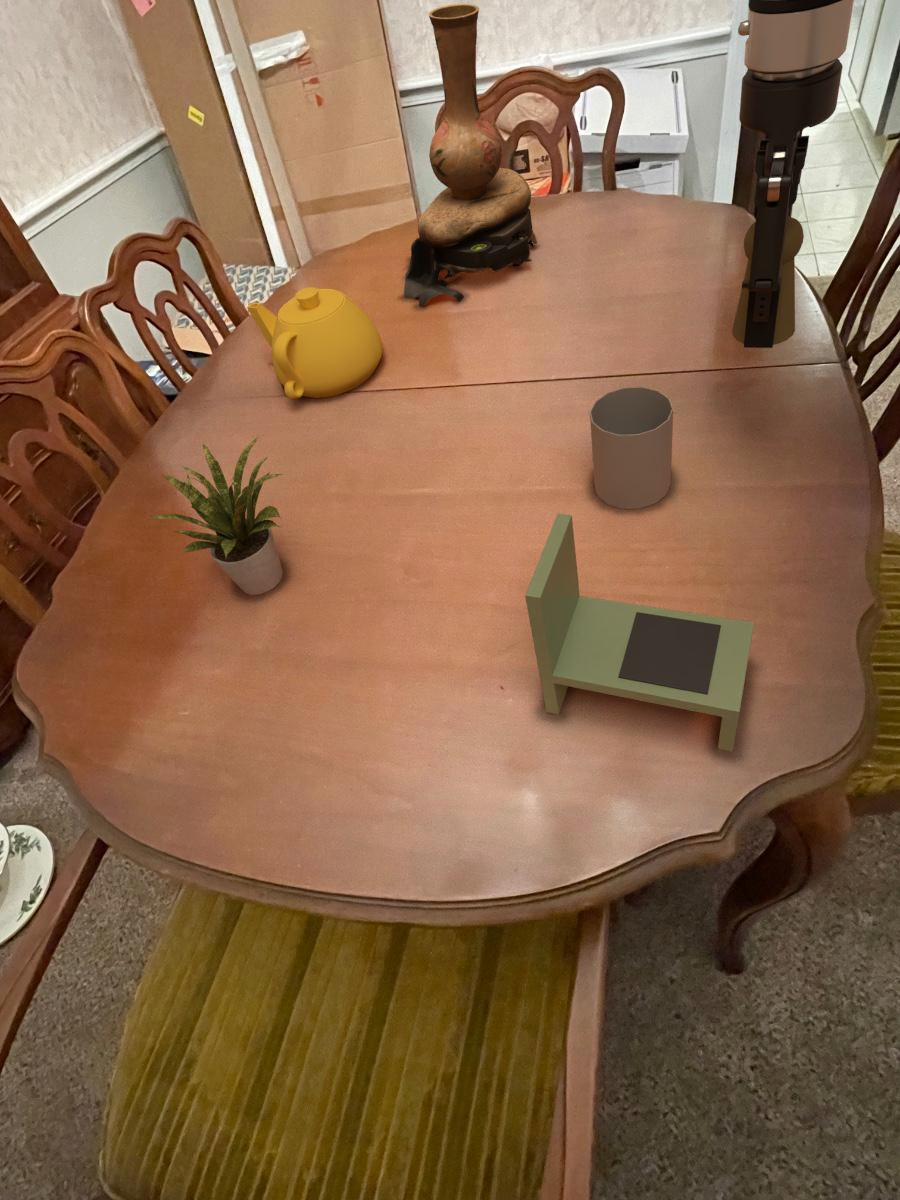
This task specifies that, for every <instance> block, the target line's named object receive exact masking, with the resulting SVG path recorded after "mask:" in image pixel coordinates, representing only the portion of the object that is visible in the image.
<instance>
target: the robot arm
mask: <svg viewBox="0 0 900 1200" xmlns="http://www.w3.org/2000/svg"><path fill="white" fill-rule="evenodd" d="M854 1H855V0H748V9H747V20H744V21H741V22H740V23H739V25H738V28H737V34H738V35H739V36H741V37H743V36H744V37H745V36H748V37H747V39H746V41H745V44H744V45H745V46H744V56H743V57H744V58H743V60H744V61H743V65H744V66H745V67H746V68H747V69H748V70H747V71H746V72H745V74H744V75H743V76H742V78H741V89H740V104H739V117H738V118H739V122H740V124H741V126H742V127H743V128H744V129H747V130H749V131H751V132H754V133H763V134H765V135H766V136H767V138H761V139H760V142H759V149H758V150H757V151H756V157H755V165H754V166H755V167H754V172H755V174H756V182H755V183H756V184H755V193H754V200H753V201H754V206H755V207H756V213H755V222H754V223H755V232H754V242H753V251H752V261H751V271H750V280H744V279H743V281H742V282H741V289H742V288H748V290H749V297H748V307H747V317H746V328H745V338H744V344H743V348H747V349H748V348H749V349H751V348H752V349H753V348H755V349H773V347H774V345H773V341H774V333H775V326H776V318H777V310H778V302H779V294H780V286H781V278H780V272H781V264H782V257H783V250H784V242H785V235H786V228H787V221H788V216H789V217H792V214H793V205H794V204H795V203H796V201H797V198H798V192H799V185H800V183H801V179H802V178H801V177H802V173H803V170H804V168H805V165H806V164H805V163H806V158H807V153H808V148H809V140H810V135H803V132H804V130H805V129H807V128H813V127H816V126H818V125H820V124H823V123H825V122H826V121H827V120H829V119H830V118H831V117H832V115H834V113H835V111H836V110H837V105H838V99H839V92H840V85H841V79H842V73H843V72H842V71H843V63H842V62H841V61H840V58H841V57H842V56H843V55H844V53H845V52H846V51H847V47H848V40H849V33H850V28H851V27H850V26H851V21H852V13H853V7H854Z"/></svg>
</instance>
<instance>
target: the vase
mask: <svg viewBox="0 0 900 1200" xmlns="http://www.w3.org/2000/svg"><path fill="white" fill-rule="evenodd" d="M479 12H480V7H479V6H477V5H476V4H471V3H456V4H455V3H454V4H448V5H444V6H443V5H442V6H439V7H436V8H434V9H432V10H431V11H429V13H428V17H429V20H430V24H431V25H432V29H433V34H434V40H435V45H436V46H435V47H436V50H437V53H438V61H439V66H440V72H441V79H442V87H443V94H444V116H443V119H442V122H441V123H440V125H439V127H438V128H437V130H436V132H435V133H434V134H433V136H432V139H431V142H430V146H429V153H428V154H429V155H428V157H429V163H430V166H431V169H432V172H433V174H434V176H435V177H436V179H437V180H438V182H440V183H441V184H442V185H444V186H445V187H446V188H445V189H443V190H442V191H441V192H440V193H439V194H438V195H437V196H436V197H435V198H434V199H433V200H432V201H431V202H430V204H429V205H428V206H427V207H426V209H425V210H424V211H423V212H422V214H421V216H420V217H419V220H418V223H417V235H418V237H417V238H416V239H415V240H413V242H411V245H410V261H409V265H408V268H407V271H406V272H405V276H404V278H405V279H404V287H403V293H404V294H403V297H404V298H405V299H413V300H416V298H418V307H419V308H420V307H422V308H423V307H424V306H425V305H426V304H427V302H428V301H430V300H432V299H433V298H436V297H438V296H440V295H448V296H449V295H450V296H451V297H454V298H455V299H456V301H457V302H458V303H460V302H461V301H462V300H464V298H465V296H464V294H463V293H462V292H460V291H458V290H456V289H452V288H449V287H448V286H450V285H451V284H452V283H454V281H452V282H451V283H448V282H447V281H446V280H445V279H450V278H456V276H457V275H458V274H460V273H467V274H469V273H470V274H477V273H482V272H485V271H486V270H488V269H490V270H491V271H492V272H496V273H497V272H498V271H501V270H502V269H505V268H506V267H508V266H509V265H511V266H512V267H513V268H515V267H521V266H522V265H523V264H524V263H530V262H532V261H533V259H532V258H531V257H530V254H531V253H530V247H532V248H533V247H535V245H537V244H538V239H537V237H536V234H535V233H534V231H533V221H532V214H531V209H530V206H531V203H532V190H531V188H530V185H529V184H528V182H527V180H526V179H525V177H523V176H522V175H521V174H520V173H519V172H517V171H515V170H513V169H510V168H505V167H501V164H502V156H503V149H502V148H503V147H502V143H501V139H500V137H499V134H498V133H497V131H496V129H494V127H493V126H492V125H491V124H490V123H489V121H487V120H486V119H485V117H484V116H483V115H482V113H481V110H480V107H479V101H478V92H477V38H478V19H479ZM444 270H446V271H447V272H446V273H447V274H446V275H445V276H444V279H439V277H440V273H441V272H442V271H444ZM458 279H459V277H457V278H456V279H455V281H457V280H458Z"/></svg>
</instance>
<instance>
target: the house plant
mask: <svg viewBox="0 0 900 1200" xmlns="http://www.w3.org/2000/svg"><path fill="white" fill-rule="evenodd" d="M260 436H261V435H260ZM260 436H257V437H255V438H254V439H253V440H252V441H251V442H249V444H247V446H246V447H245V448H244V449H243V450H242V452H241V453H240V455H239V456H238V460H237V463H236V465H235V468H234V474H233V481H232V483H231V485H230V486H229V487H228V484H227V480H226V478H225V475H224V472H223V470H222V467H221V465H220V463H219V461H218V460H217V458H216V457H215V456H214V455H213V454H212V453H211V451H210V449H209V447H208V446H206V444H204V442H203V444H202V448H203V454H204V457H205V461H206V463H207V465H208V468H209V470H210V473H211V476H212V479H213V482H214V485H215V486H214V485H213V483H212V482H211V481H209V480H208V478H206V476H204V475H203V474H201V473H200V472H197V471H196V470H194V469H192V468H190V467H187V466H184V465H181V464H179V466H180V467H181V468H182V469H184V470H186V471H187V472H188V473H190V474H191V475H193V476H194V477H196V478H194V477H190V475H189V474H188V473H186V480H187V481H186V482H184V481H183V480H179V479H177V478H176V477H173V476H170V475H169V476H168V475H162V477H163V478H164V479H165V480H166V481H167V482H168V483H170V484H171V485H172V486H173V487H174V488H175V489H176V490H178V492H180V493H181V494H182V495H183V496H184V497H185V498H187V499H188V500H189V502H190V505H191V506H190V507H191V509H193V510H194V511H195V512H196V513H197V515H198V516H199V517H200V518H201V519H202V520H203V521H201V520H199V519H197V518H194V517H191V516H189V515H183V514H178V513H168V514H159V515H155V516H154V517H151V518H149V519H147V520H148V521H150V520H159V519H165V520H167V519H168V520H169V519H170V520H177V521H182V522H187V523H190V524H194V525H197V526H200V527H203V528H204V529H205V528H206V529H208V530H211V531H213V532H215V534H214V533H213V534H212V533H209V532H200V531H194V530H184V529H183V530H175V531H173V532H174V533H177V534H178V535H186V536H187V537H190V538H192V539H195V540H196V541H192V542H191V543H188V544H187V546H185V548H184V549H183V551H182V552H181V554H183V553H192V552H196V551H201V550H207V549H209V555H210V557H211V558H212V559H213V560H214V561H215V563H216V564H217V565H218V566H220V568H221V569H222V570H223V571H224V572H225V573H226V575H228V577H229V578H230V579H231V580H232V581H233V582H234V583H235V584H236V586H237V587H238V588H239V589H240V590H241V591H242V592H243V593H245V594H247V595H250V596H258V595H262V594H264V593H267V592H269V591H271V590H273V589H274V588H276V587H277V585H279V583H280V582H281V580H282V578H283V573H284V570H283V566H282V563H281V560H280V556H279V553H278V549H277V546H276V542H275V539H274V535H273V531H272V529H271V528H275V527H277V528H280V526H279V525H278V524H277V523H276V522H274V520H272V519H271V518H280V519H282V517H281V516H280V515H281V514H280V513H279V510H278V508H276V507H275V506H273V505H269V506H266V507H264V508H262V510H260V511H259V512H258V514H257V515H256V508H257V503H258V499H259V495H260V492H261V490H262V487H263V485H264V482H266V481H268V480H271V479H274V478H277V477H278V478H279V476H282V475H285V474H284V473H272V474H271V471H268V473H267V474H264V476H261V477H260V478H258V479H257V476H258V474H259V471H260V469H261V466H262V465H263V464H264V463H265V462H266V460H267V459H268V457H265V458H263V459H261V460H260V461H259V462H258V463H257V464H256V465H255V467H254V468H253V469H252V472H251V475H250V477H249V480H248V485H246V486H244V487H243V489H242V481H243V475H244V470H245V467H246V464H247V462H248V458H249V455H250V452H251V450H252V448H253V446H255V444H256V443H257V441H258V439H259V438H260ZM191 479H192V480H195V481H197V482H199V483H201V485H203V486H204V487H205V489H206V491H207V493H208V497H206V496H205V495H204V494H203V493H202V492H201V491H200V490H198V489H197V488H196V487H195V486H193V485H192V481H191ZM256 479H257V480H256Z"/></svg>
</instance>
